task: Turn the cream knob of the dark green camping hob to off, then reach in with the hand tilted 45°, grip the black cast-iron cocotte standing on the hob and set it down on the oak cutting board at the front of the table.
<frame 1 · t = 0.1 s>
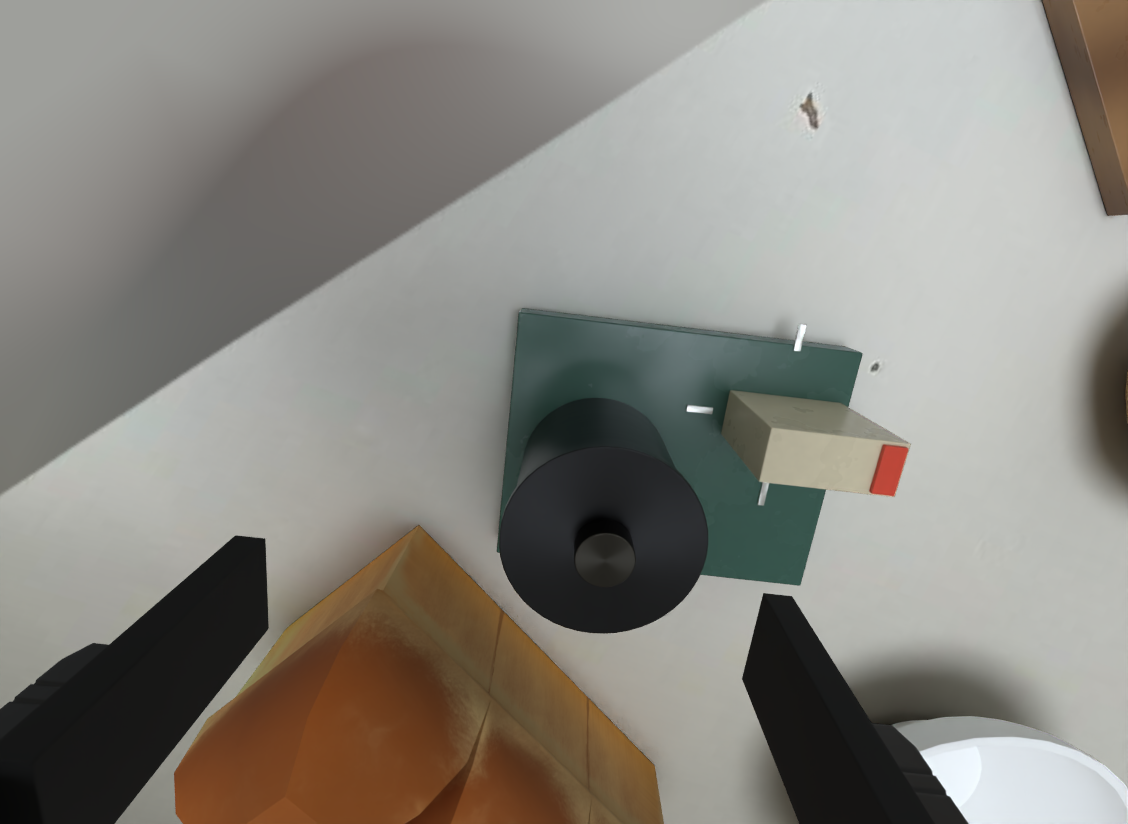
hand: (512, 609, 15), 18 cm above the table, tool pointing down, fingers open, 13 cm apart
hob: (663, 446, 33), on the table
cocotte: (595, 467, 31), point 2 cm above the table, touching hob
bowl: (901, 764, 40), on the table
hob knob: (805, 439, 27), point 5 cm above the table, hinge at 90.0°
bread: (478, 697, 39), on the table
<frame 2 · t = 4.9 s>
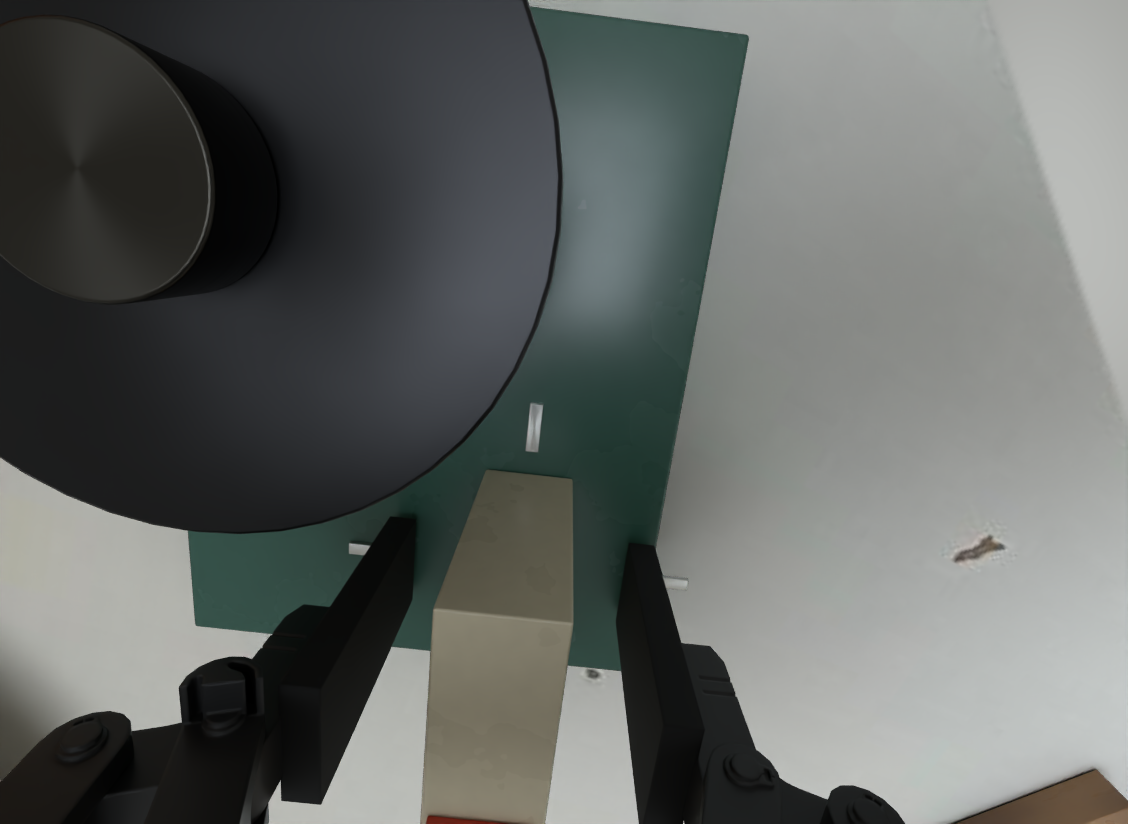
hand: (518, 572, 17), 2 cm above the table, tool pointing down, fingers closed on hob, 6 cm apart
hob: (445, 361, 17), on the table
cocotte: (397, 218, 14), point 2 cm above the table, touching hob
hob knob: (507, 640, 14), point 5 cm above the table, hinge at 90.0°
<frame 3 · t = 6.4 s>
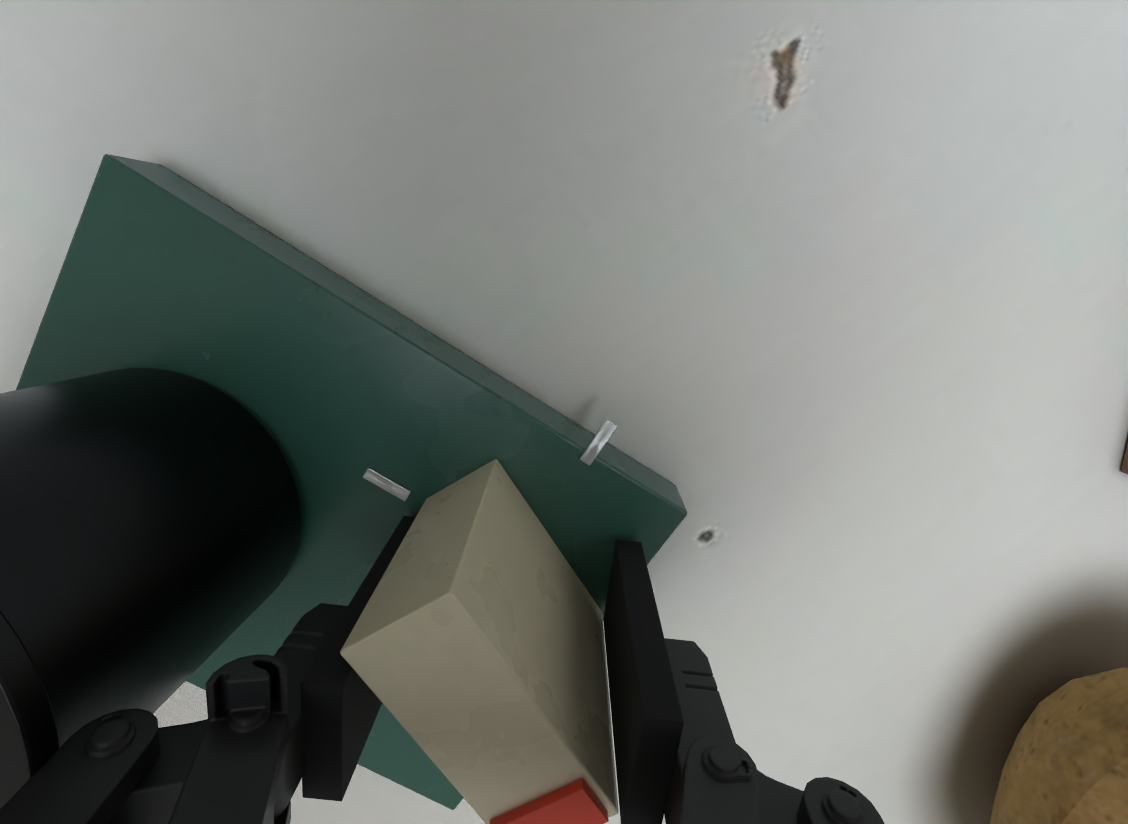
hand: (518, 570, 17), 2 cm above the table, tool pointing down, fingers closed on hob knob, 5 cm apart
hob: (335, 510, 19), on the table
cocotte: (166, 503, 17), point 2 cm above the table, touching hand
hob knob: (504, 630, 14), point 5 cm above the table, hinge at 64.2°, touching gripper
potato: (1060, 738, 22), on the table
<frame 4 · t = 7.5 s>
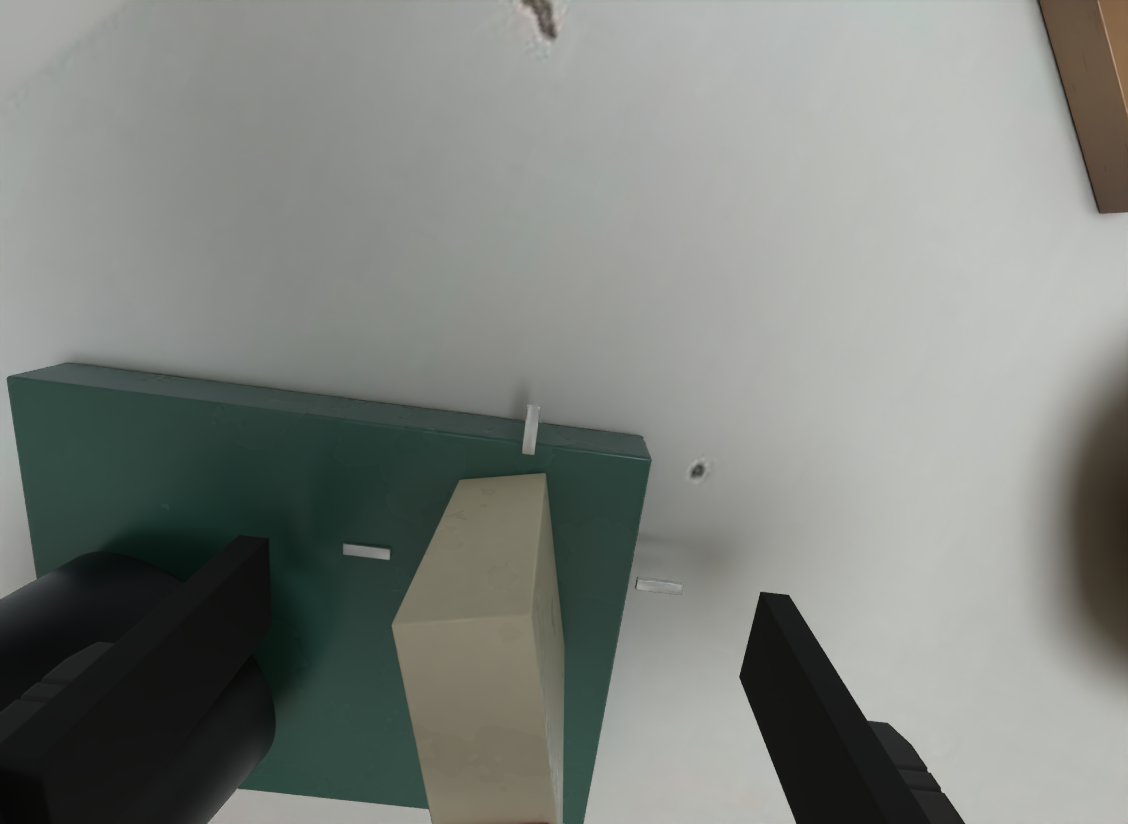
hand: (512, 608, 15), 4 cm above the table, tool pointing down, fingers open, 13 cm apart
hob: (353, 592, 20), on the table
cocotte: (163, 666, 17), point 3 cm above the table, tilted 17°, touching gripper, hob
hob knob: (501, 643, 14), point 5 cm above the table, hinge at 12.6°
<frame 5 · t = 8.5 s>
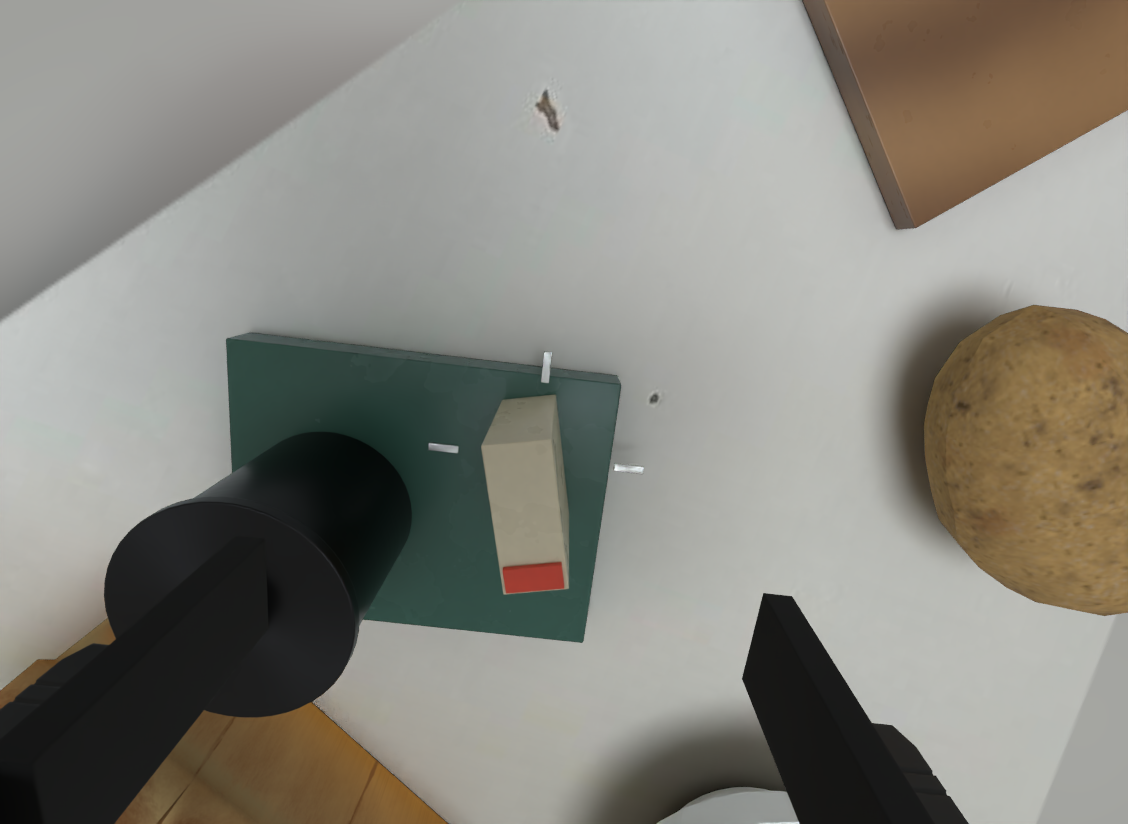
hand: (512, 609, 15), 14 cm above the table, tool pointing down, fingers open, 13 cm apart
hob: (427, 486, 29), on the table
cocotte: (330, 509, 28), point 2 cm above the table, touching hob
board: (975, 11, 23), on the table
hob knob: (531, 486, 24), point 5 cm above the table, hinge at 12.6°
potato: (980, 426, 29), on the table
bread: (257, 760, 35), on the table
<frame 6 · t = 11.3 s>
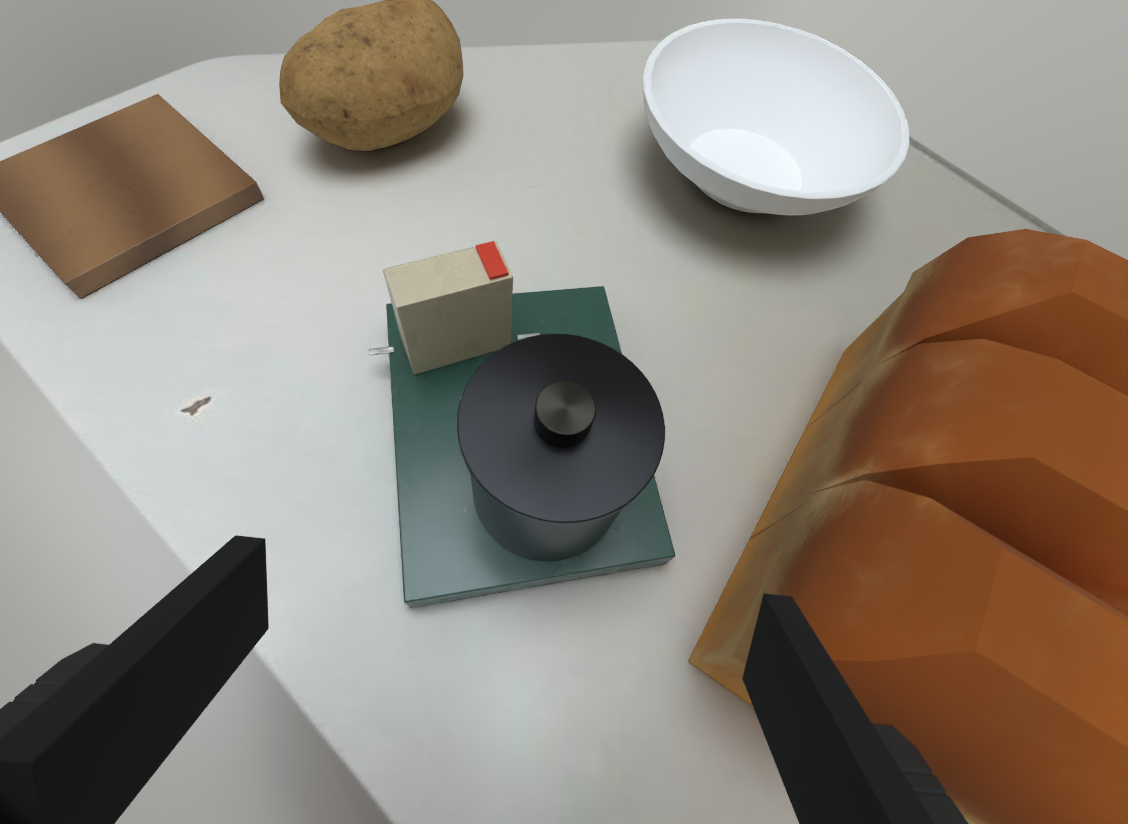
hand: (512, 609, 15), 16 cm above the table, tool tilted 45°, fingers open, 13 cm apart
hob: (518, 434, 34), on the table
cocotte: (546, 487, 31), point 2 cm above the table, touching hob
board: (128, 196, 39), on the table
bowl: (739, 178, 47), on the table
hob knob: (452, 310, 31), point 5 cm above the table, hinge at 12.6°
potato: (386, 131, 45), on the table
bread: (865, 538, 34), on the table
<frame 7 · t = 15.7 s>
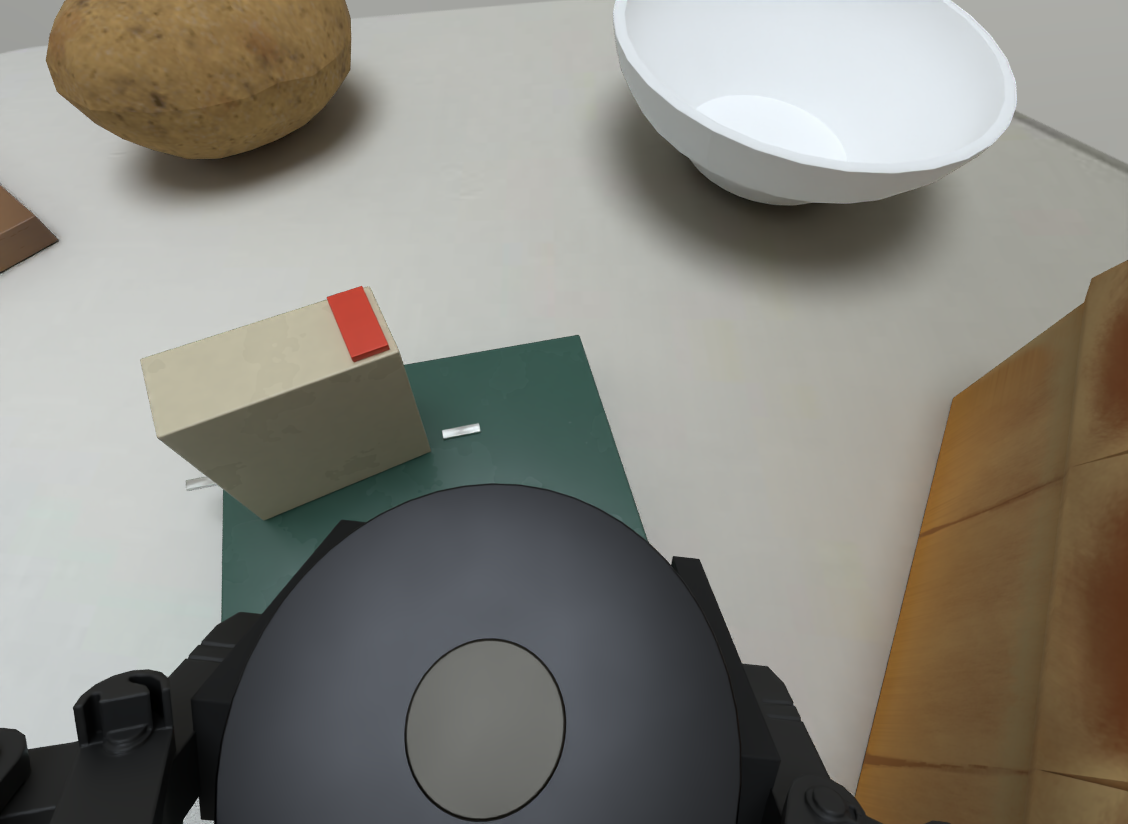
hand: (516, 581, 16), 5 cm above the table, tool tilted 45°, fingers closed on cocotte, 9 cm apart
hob: (454, 598, 20), on the table
cocotte: (501, 721, 17), point 2 cm above the table, touching gripper, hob
bowl: (758, 160, 34), on the table
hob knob: (310, 411, 18), point 5 cm above the table, hinge at 12.6°
potato: (254, 132, 32), on the table
bread: (1053, 731, 20), on the table
when the fingers open (4 cm above the table, at t = 26.8 s): cocotte stays where it is, resting on board.
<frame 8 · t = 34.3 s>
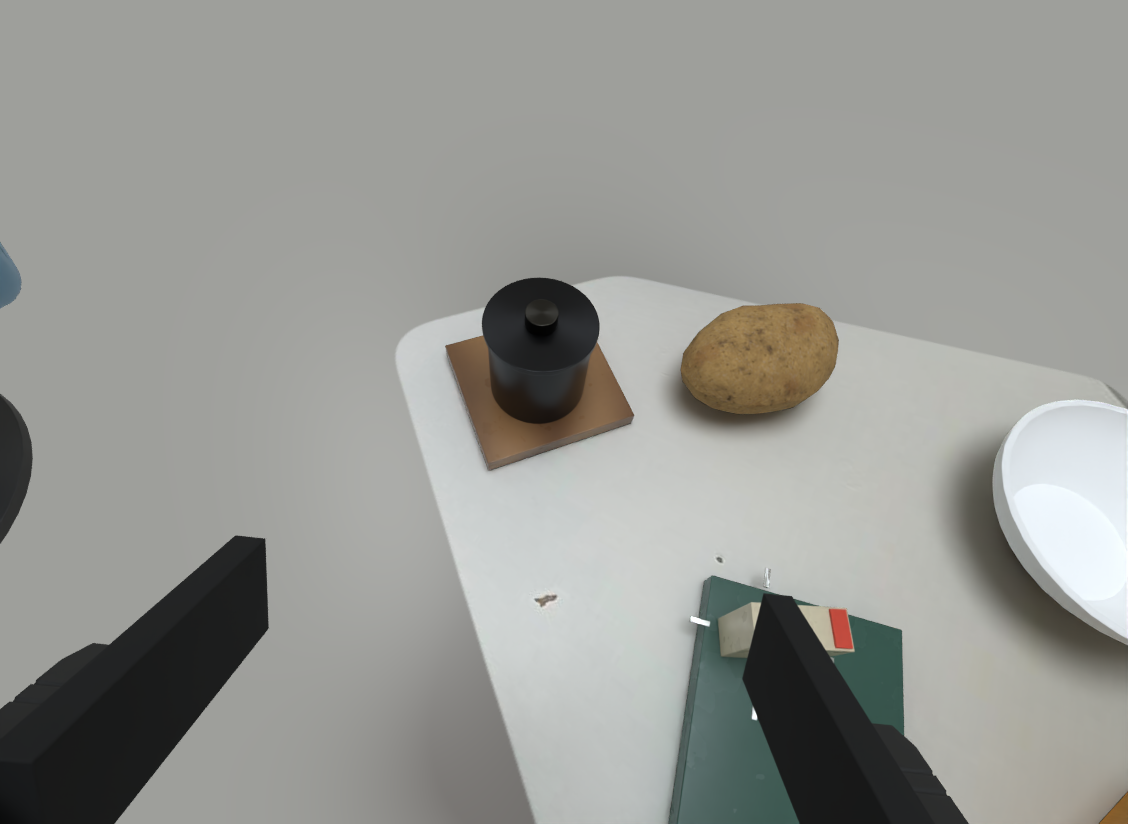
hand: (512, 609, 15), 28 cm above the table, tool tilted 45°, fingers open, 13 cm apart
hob: (785, 739, 39), on the table
cocotte: (537, 382, 49), point 1 cm above the table, touching board
board: (537, 388, 50), on the table
bowl: (1057, 542, 47), on the table
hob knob: (780, 633, 37), point 5 cm above the table, hinge at 12.6°
potato: (737, 386, 52), on the table
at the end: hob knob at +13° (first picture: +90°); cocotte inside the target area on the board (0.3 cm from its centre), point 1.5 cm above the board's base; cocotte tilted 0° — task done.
